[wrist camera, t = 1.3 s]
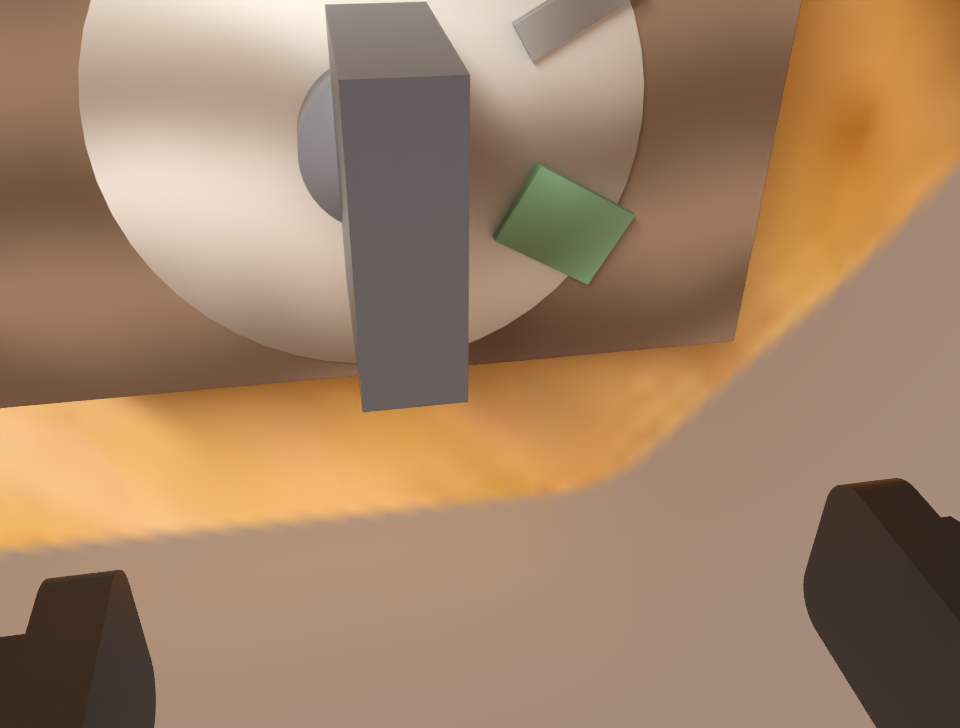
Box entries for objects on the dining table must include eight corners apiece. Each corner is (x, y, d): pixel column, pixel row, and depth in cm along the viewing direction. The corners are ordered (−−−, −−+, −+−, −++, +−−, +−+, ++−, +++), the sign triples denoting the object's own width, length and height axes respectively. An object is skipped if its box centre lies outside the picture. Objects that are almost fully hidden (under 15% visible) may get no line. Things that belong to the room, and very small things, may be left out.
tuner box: (-130, -233, 21) (-240, -231, 17) (751, -222, 25) (856, -218, 20) (37, 318, 29) (-7, 418, 25) (677, 268, 33) (740, 349, 28)
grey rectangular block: (281, -8, 20) (282, 81, 15) (457, -12, 21) (523, 72, 15) (320, 368, 26) (331, 536, 20) (457, 356, 27) (505, 516, 21)
